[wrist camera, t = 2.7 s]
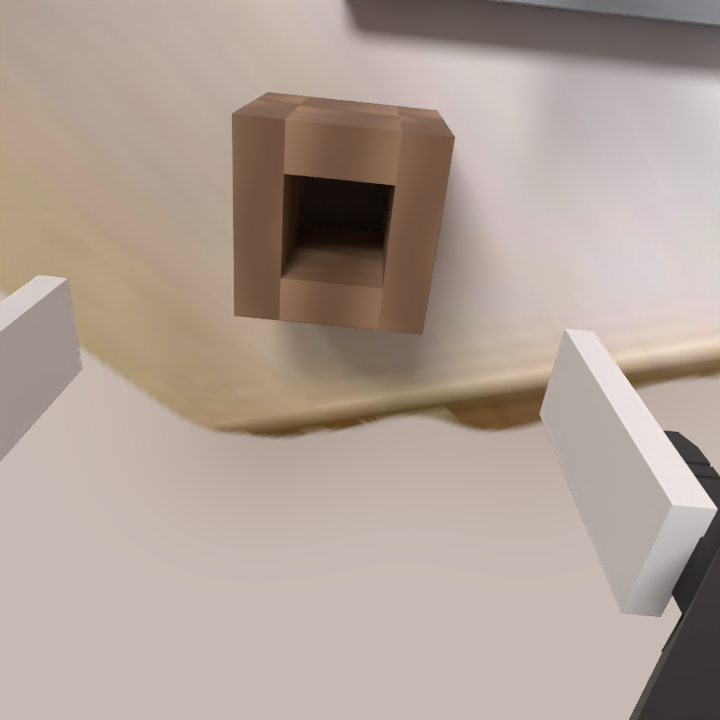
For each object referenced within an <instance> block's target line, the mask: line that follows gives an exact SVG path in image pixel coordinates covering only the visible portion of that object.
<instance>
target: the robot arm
mask: <svg viewBox="0 0 720 720" xmlns="http://www.w3.org/2000/svg"><path fill="white" fill-rule="evenodd" d="M81 370H82V364H81V358H80V351H79V345H78V339H77V333H76V326H75V320H74V314H73V307H72V301H71V295H70V288H69V282H68V278H62V277H52V276H42V275H38V276H36V277H35V278H34V279H32V280H31V281H29V282H28V283H27V284H25V285H24V286H22V287H21V288H20V289H18V290H17V291H15V292H14V293H13V294H11V295H10V296H8V297H7V298H6V299H4V300H3V301H1V302H0V461H1V460H2V459H3V458H4V457H5V456H6V454H7V453H8V452H9V451H10V450H11V449H12V448H13V447H14V445H15V444H16V443H17V442H18V441H19V440H20V439H21V438H22V436H23V435H24V434H25V433H26V432H27V431H28V429H29V428H30V427H31V426H32V425H33V424H34V423H35V421H37V419H38V418H39V417H40V416H41V415H42V414H43V413H44V412H45V410H46V409H47V408H48V407H49V406H50V405H51V403H52V402H53V401H54V400H55V399H56V398H57V397H58V396H59V394H60V393H61V392H62V391H63V390H64V389H65V388H66V387H67V385H68V384H69V383H70V382H71V381H72V380H73V379H74V378H75V376H76V375H77V374H78V373H79V372H80V371H81ZM540 416H541V419H542V421H543V424H544V426H545V429H546V431H547V433H548V436H549V438H550V441H551V443H552V446H553V448H554V451H555V453H556V455H557V458H558V460H559V463H560V465H561V468H562V470H563V473H564V475H565V478H566V480H567V483H568V485H569V487H570V490H571V492H572V495H573V497H574V500H575V502H576V504H577V507H578V509H579V512H580V514H581V516H582V519H583V522H584V524H585V527H586V529H587V531H588V534H589V536H590V539H591V541H592V543H593V546H594V548H595V551H596V553H597V556H598V558H599V561H600V563H601V566H602V568H603V571H604V573H605V575H606V578H607V580H608V583H609V585H610V588H611V590H612V593H613V595H614V597H615V600H616V602H617V605H618V607H619V610H620V612H621V613H625V614H635V615H646V616H656V617H661V615H662V614H663V612H664V610H665V608H666V606H667V604H668V602H669V600H670V598H671V597H672V595H673V597H674V599H675V601H676V603H677V605H678V607H679V609H680V610H681V612H682V615H681V617H680V619H679V621H678V622H677V624H676V626H675V628H674V630H673V631H672V633H671V635H670V637H669V638H668V640H667V642H666V644H665V646H664V648H663V649H662V654H661V656H660V658H659V660H658V662H657V664H656V666H655V669H654V670H653V673H652V674H651V676H650V678H649V680H648V682H647V685H646V687H645V689H644V690H643V692H642V694H641V696H640V699H639V701H638V703H637V704H636V707H635V709H634V711H633V713H632V715H631V717H630V719H629V720H720V476H719V474H718V473H717V472H716V471H715V470H714V468H713V467H710V463H709V461H708V460H707V459H706V457H705V456H704V455H703V453H702V452H701V451H700V450H699V448H698V447H697V446H696V445H694V444H693V443H692V442H690V441H689V440H688V439H686V438H685V437H684V436H683V435H681V434H680V433H679V432H673V431H663V430H662V429H661V427H660V426H659V424H658V423H657V422H656V420H655V419H654V417H653V416H652V415H651V413H650V411H649V410H648V409H647V407H646V406H645V405H644V403H643V401H642V400H641V399H640V397H639V396H638V394H637V393H636V391H635V390H634V389H633V387H632V386H631V384H630V383H629V381H628V380H627V379H626V377H625V376H624V374H623V373H622V371H621V370H620V369H619V367H618V366H617V364H616V363H615V361H614V360H613V359H612V357H611V356H610V354H609V353H608V351H607V350H606V349H605V347H604V346H603V344H602V343H601V341H600V340H599V339H598V337H597V336H596V334H595V333H594V331H584V330H575V329H565V330H564V333H563V337H562V340H561V343H560V347H559V350H558V353H557V357H556V360H555V364H554V367H553V370H552V374H551V377H550V380H549V384H548V387H547V390H546V394H545V397H544V400H543V404H542V407H541V410H540Z"/></svg>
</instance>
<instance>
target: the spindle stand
mask: <svg viewBox="0 0 720 720" xmlns="http://www.w3.org/2000/svg"><path fill="white" fill-rule="evenodd" d="M483 1H492V2H501V3H509V4H518V5H527V6H536V7H545V8H554V9H563V10H572V11H581V12H590V13H599V14H608V15H617V16H626V17H635V18H644V19H653V20H661V21H670V22H679V23H688V24H697V25H706V26H715V27H720V0H483Z"/></svg>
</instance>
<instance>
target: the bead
mask: <svg viewBox="0 0 720 720" xmlns="http://www.w3.org/2000/svg"><path fill="white" fill-rule="evenodd" d="M454 140H455V137H454V135H453V134H452V132H451V131H450V129H449V128H448V126H447V125H446V123H445V122H444V120H443V119H442V117H441V116H440V114H439V113H438V111H436V110H427V109H418V108H408V107H399V106H390V105H380V104H371V103H362V102H353V101H343V100H334V99H325V98H315V97H306V96H297V95H287V94H278V93H269V92H267V93H266V94H264V95H262V96H261V97H259V98H257V99H256V100H254V101H252V102H251V103H249V104H247V105H246V106H244V107H242V108H241V109H239V110H237V111H236V112H234V113H232V141H233V229H234V316H241V317H251V318H261V319H271V320H281V321H291V322H301V323H311V324H321V325H331V326H341V327H351V328H361V329H372V330H382V331H392V332H402V333H412V334H422V332H423V326H424V320H425V314H426V308H427V302H428V296H429V290H430V284H431V278H432V272H433V266H434V260H435V254H436V248H437V242H438V236H439V230H440V224H441V218H442V212H443V206H444V200H445V194H446V188H447V182H448V176H449V170H450V164H451V158H452V152H453V146H454ZM304 176H310V177H320V178H330V179H339V180H349V181H358V182H368V183H377V184H387V185H388V186H387V195H386V203H385V212H384V221H383V229H382V232H377V231H368V230H358V229H348V228H338V227H329V226H319V225H309V224H302V216H303V195H304Z"/></svg>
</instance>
